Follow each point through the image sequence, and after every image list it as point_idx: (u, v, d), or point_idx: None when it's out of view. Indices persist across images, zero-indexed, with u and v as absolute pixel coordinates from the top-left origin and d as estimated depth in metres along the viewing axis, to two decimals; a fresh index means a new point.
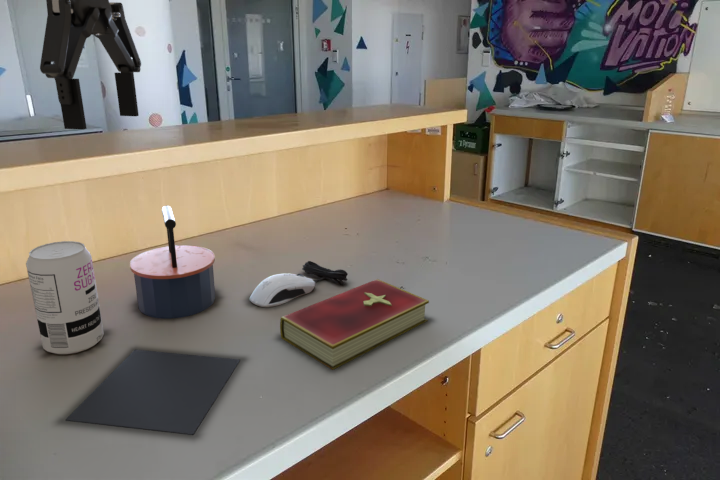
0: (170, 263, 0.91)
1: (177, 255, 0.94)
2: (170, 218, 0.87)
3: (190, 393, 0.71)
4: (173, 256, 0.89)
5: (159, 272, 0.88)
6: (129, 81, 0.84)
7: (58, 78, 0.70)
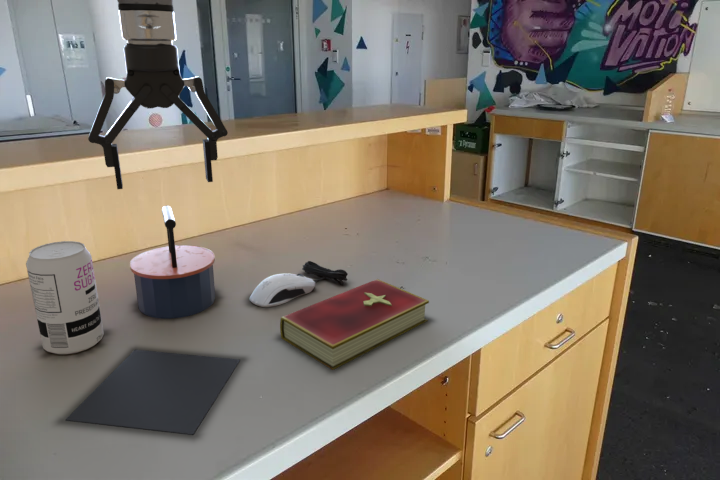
0: (170, 263, 0.91)
1: (177, 255, 0.94)
2: (170, 218, 0.87)
3: (190, 393, 0.71)
4: (173, 256, 0.89)
5: (159, 272, 0.88)
6: (205, 149, 0.88)
7: None
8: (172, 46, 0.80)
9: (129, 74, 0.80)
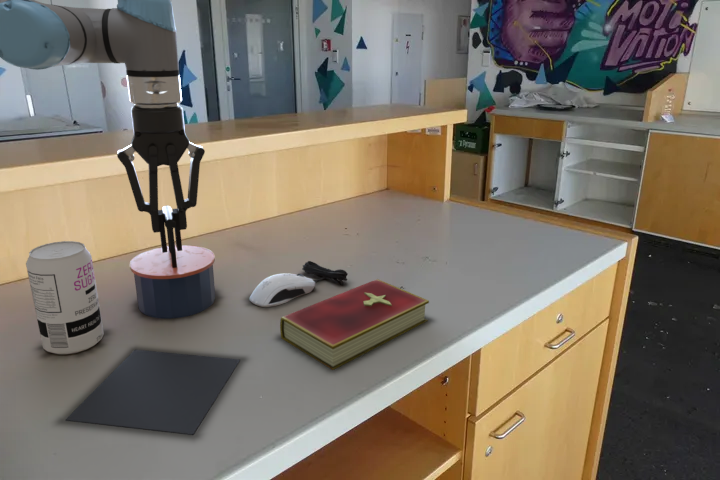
0: (170, 263, 0.91)
1: (177, 255, 0.94)
2: (170, 218, 0.87)
3: (190, 393, 0.71)
4: (173, 256, 0.89)
5: (159, 272, 0.88)
6: None
7: None
8: (178, 108, 0.83)
9: (136, 135, 0.83)
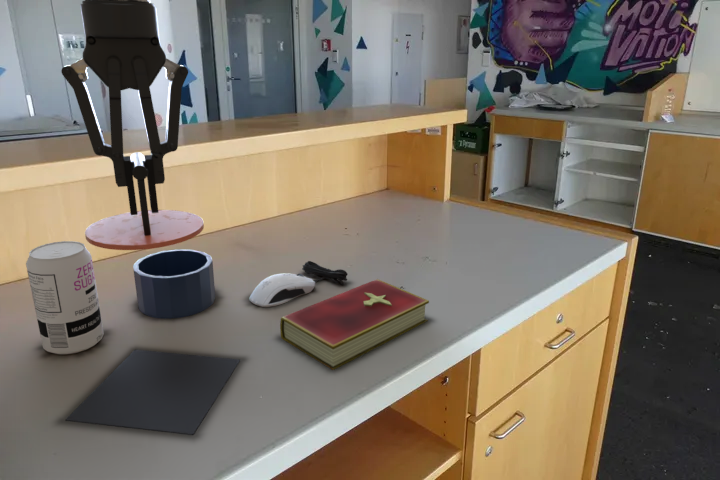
0: (142, 230, 0.66)
1: (152, 221, 0.69)
2: (140, 164, 0.62)
3: (190, 393, 0.71)
4: (144, 219, 0.63)
5: (125, 240, 0.62)
6: None
7: None
8: (148, 4, 0.58)
9: (89, 42, 0.58)
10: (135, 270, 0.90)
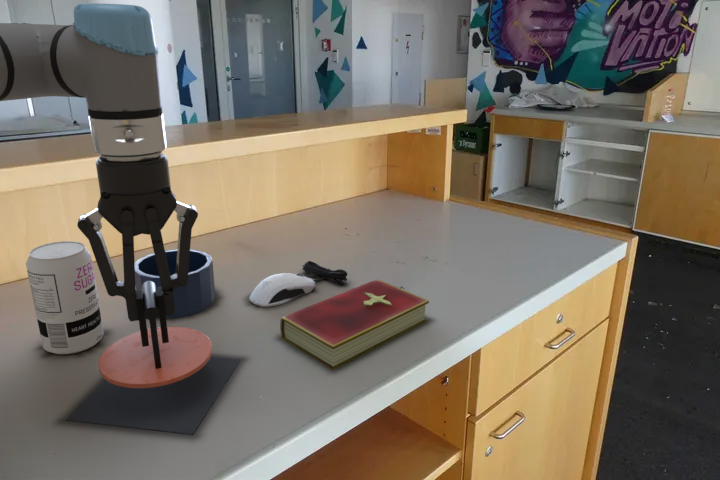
0: (153, 360, 0.68)
1: (163, 345, 0.72)
2: (152, 305, 0.64)
3: (190, 393, 0.71)
4: (156, 354, 0.66)
5: (137, 377, 0.65)
6: None
7: None
8: (160, 159, 0.61)
9: (103, 196, 0.61)
10: (135, 270, 0.90)
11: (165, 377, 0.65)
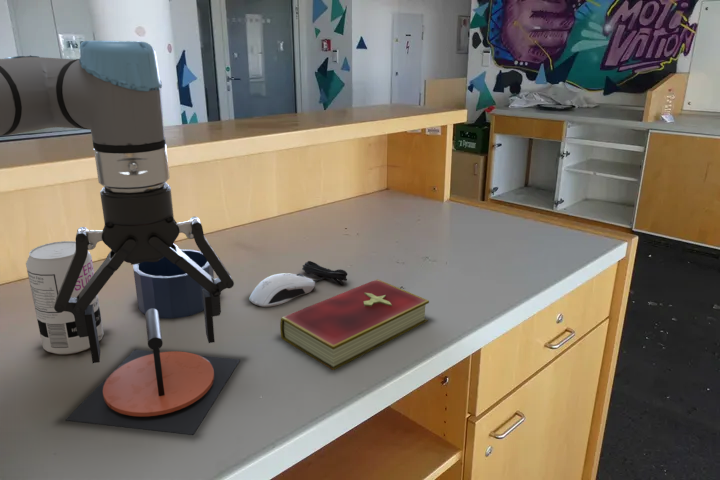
0: (156, 387, 0.70)
1: (166, 371, 0.73)
2: (155, 335, 0.66)
3: None
4: (159, 382, 0.67)
5: (140, 405, 0.66)
6: (205, 305, 0.70)
7: None
8: (164, 190, 0.62)
9: (108, 226, 0.62)
10: (135, 270, 0.90)
11: (168, 405, 0.66)
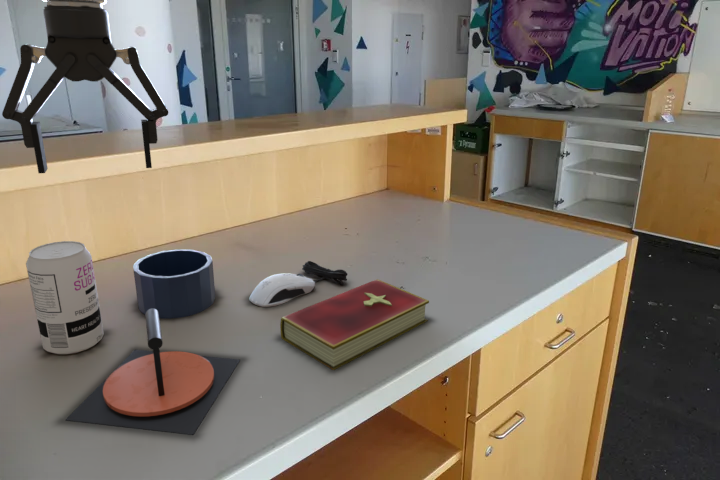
0: (156, 387, 0.70)
1: (166, 371, 0.73)
2: (155, 335, 0.66)
3: None
4: (159, 382, 0.67)
5: (140, 405, 0.66)
6: (142, 130, 0.77)
7: None
8: (99, 9, 0.70)
9: (50, 41, 0.70)
10: (135, 270, 0.90)
11: (168, 405, 0.66)
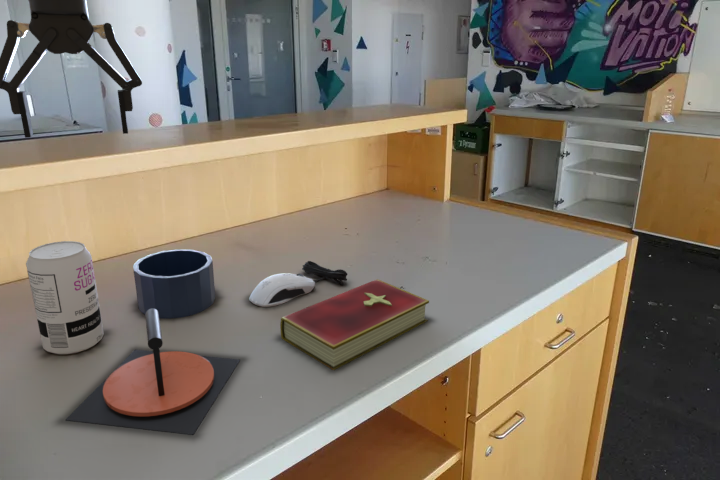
0: (156, 387, 0.70)
1: (166, 371, 0.73)
2: (155, 335, 0.66)
3: None
4: (159, 382, 0.67)
5: (140, 405, 0.66)
6: None
7: None
8: None
9: (33, 17, 0.78)
10: (135, 270, 0.90)
11: (168, 405, 0.66)
